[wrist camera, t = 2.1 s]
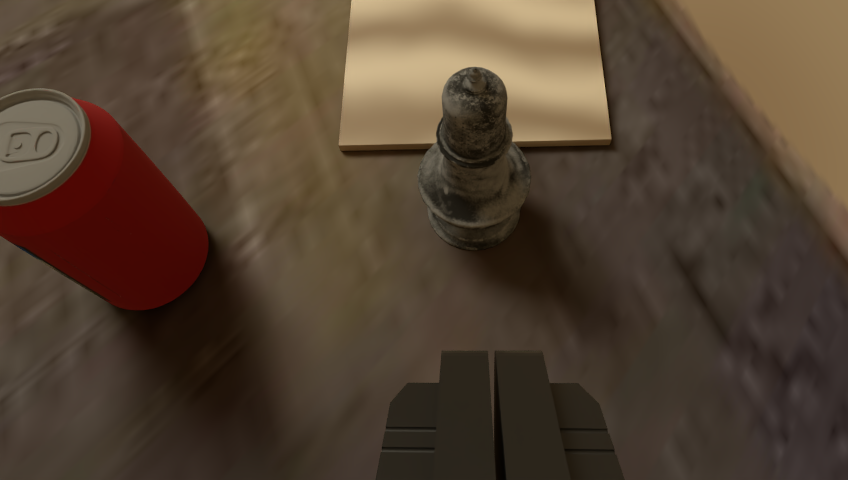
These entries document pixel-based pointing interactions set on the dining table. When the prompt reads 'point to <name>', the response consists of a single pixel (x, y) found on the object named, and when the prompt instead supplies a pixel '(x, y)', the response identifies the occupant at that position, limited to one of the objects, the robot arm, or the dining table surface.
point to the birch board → (473, 47)
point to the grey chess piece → (474, 164)
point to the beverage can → (94, 202)
